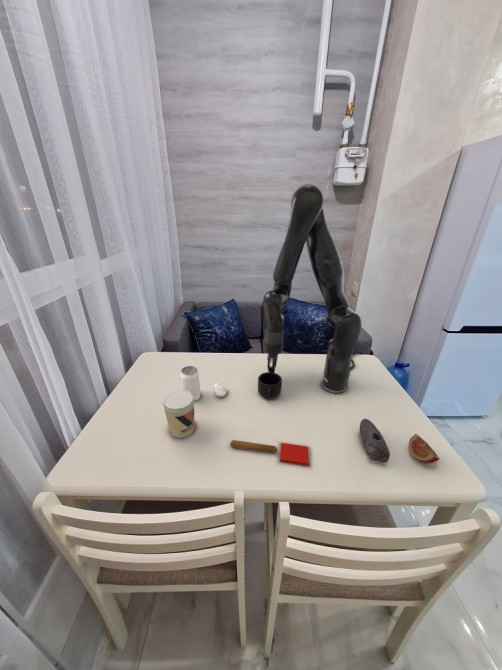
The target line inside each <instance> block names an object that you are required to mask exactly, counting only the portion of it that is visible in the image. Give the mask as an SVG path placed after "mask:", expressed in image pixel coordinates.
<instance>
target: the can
mask: <svg viewBox="0 0 502 670" xmlns="http://www.w3.org/2000/svg"><path fill="white" fill-rule="evenodd" d="M180 383H181V390H184V391H188V392H190V393H191V394H192V395H193V396H194V402H196V401H198V400H199V399H200V398H201V384H200V383H201V382H200V373H199V371H198V368H197V366H194V365H187V366H184V367H183V368H181V370H180Z"/></svg>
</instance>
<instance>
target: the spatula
mask: <svg viewBox="0 0 502 670" xmlns="http://www.w3.org/2000/svg"><path fill="white" fill-rule="evenodd" d="M230 446H231V447H232V448H234V449H242V450H248V451H255V452H262V453H269V454H276V453H277V452H278V447H277V446H276V445H271V444H265V443H264V444H263V443H256V442H252V441H251V442H249V441H242V440H236V439H232V440H231V441H230ZM309 457H310V456H309V446H307V445H301V444H294V443H287V442H281V443H280V454H279V462H280V463H286V464H293V465H300V466H304V467H305V466H306V467H309V465H310V462H309V460H310V459H309Z"/></svg>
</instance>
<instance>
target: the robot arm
mask: <svg viewBox="0 0 502 670" xmlns="http://www.w3.org/2000/svg"><path fill="white" fill-rule="evenodd" d="M324 202H325V200H324V194H323V191H322V190H321V189H320V188H319V187H318V186H316V185H314V184H312V183H304V184H302V185H300V186H298V187H297V188H296V189H295V190H294V192H293V193H292V196H291V199H290V208H291V209H290V214H289V215H290V216H289V222H288V228H287V231H286V234H285V238H284V241H283V244H282V246H281V249H280V251H279V253H278V257H277V259H276V263H275V267H274V270H273V273H272V280H273V282H274V284H273V287H272V289H270V290H268V291H266V292H265V293H264V295H263V298H262V309H263V314H264V318H265V321H264V333H263V351H264V353H266V354H267V357H266V360H267V372H273V373H276V367H277V364H278V358H279V355H280V354H281V353H282V352H283V351H284V339H285V331H284V330H285V316H284V314H282V307H283V306H285V305H286V304H287V303H288V301H289V299H290V297H291V293H292V287H293V280H294V278H295V275H296V272H297V270H298V266H299V263H300V260H301V257H302V253H303V250H304V248H305V244H306V249H307V254H308V259H309V262H310V267H311V269H312V273H313V276H314V278H315V281H316V283H317V286H318V288H319V291H320V293H321V295H322V297H323V301H324V303H325V308H326V314H327V317H328V323H329V324H330V326H331V327H332V329H334V335H333V338H331V339H330V340H328V342H327V350H326V356H325V361H324V362H325V363H324V369H323V375H322V379H321V380H322V381H321V387H322V389H324V390H325V391H326V392H328V393H332V394H343V393H344V392H345V391H346V389H347V388H348V384H349V380H350V374H351V371H352V369H353V368H354V367H355V361H354V359H353V357H354V356H355V355H357V354H361V355H363V351H355V352H354V349H355V348H356V347H357V345H358V341H359V338H360V334H361V331H362V325H363V324H362V318H361V316H360V315H359V313H358V312H356V311H354V310H353V309H352V308H351V307H350V305H349V302H348V300H347V297H346V294H345V291H344V285H345V284H344V283H345V272H344V266H343V263H342V260H341V256H340V254H339V253H340V252H339V251H338V248H337V246H336V244H335V241H334V239H333V237H332V235H331V233H330V230H329V228H328V225H327V221H326V217H325V212H324V204H325V203H324Z"/></svg>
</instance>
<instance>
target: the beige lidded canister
mask: <svg viewBox="0 0 502 670" xmlns="http://www.w3.org/2000/svg"><path fill="white" fill-rule="evenodd" d="M162 407H163V410H164V413H165V418H166V421H167V425H168V429H169V432H170V434H171V436H173V437H175V438H177V439H178V438H181V439H182V438H185V437H188V436H189V435H191V434H192V433H193V432H194V430H195V401H194V396H193V395H192V394H191V393H190V392H188V391H184V390H182V389H180V390H179V389H178V390H175V391H172V392H170V393H168V394H166V396H165V397H164V399H163V401H162Z"/></svg>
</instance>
